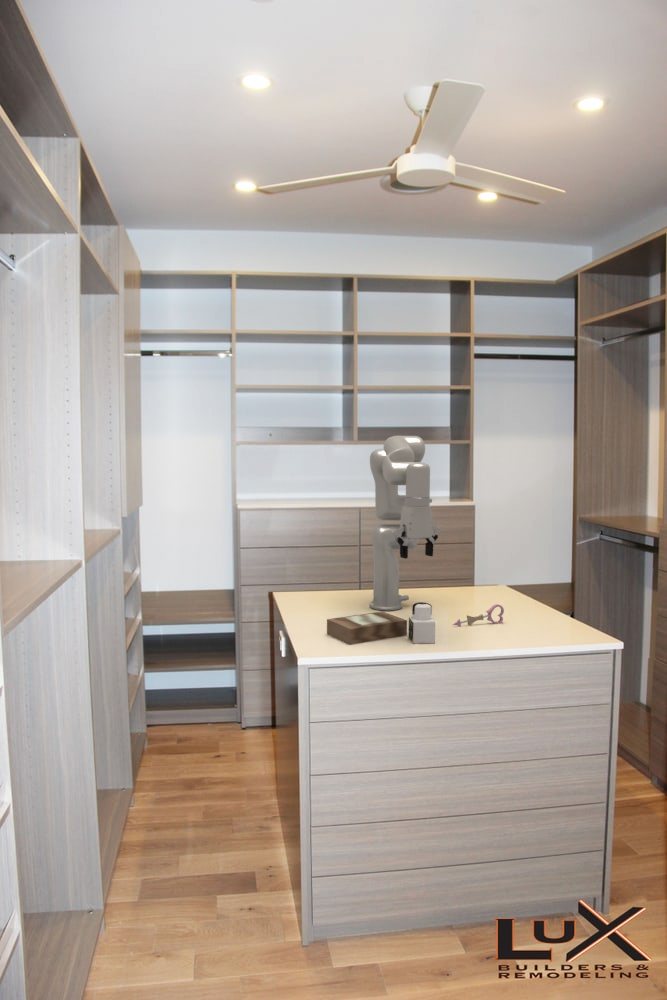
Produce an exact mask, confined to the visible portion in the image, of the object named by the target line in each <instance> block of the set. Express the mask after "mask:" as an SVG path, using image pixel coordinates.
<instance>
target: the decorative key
mask: <svg viewBox="0 0 667 1000" xmlns="http://www.w3.org/2000/svg"><path fill="white" fill-rule="evenodd" d="M498 607H499V608H500V613H499V614H497V616H498V617H499V620H498V621H495V620H493V617H492V613H493V612H494V610H495V609H496V608H498ZM485 612H486V614H485V615H483V614H479V615H477V616H471V615H468V614H466V620H462V621H461V618H458V619H457V621H455V623H453V624H451V625H452V626H458V627H462V625H461V624H465V623H467V625H468V626H469V627H470V626H472V625H473V624H474V623H476V622H477V621H484V619H485V618H486V621H488V622H492V624H495V625H498V624H501V623H503V621H504V617H503V615H504V612H505V609H504V606H502V605H500V604H497V603H496V604H494V605H492V606H491V607H489V609H488V610H485Z"/></svg>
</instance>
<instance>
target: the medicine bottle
mask: <svg viewBox="0 0 667 1000" xmlns="http://www.w3.org/2000/svg"><path fill="white" fill-rule="evenodd" d="M432 607H433V606H432V604H431V603H428V602H422V601H421V602H419V601H418V602H415V603H413V604H412V616H411V615H410V616H408V638H409V640H410V641H411V643H412V644H413V645H415V644H417V645H418V644H435V643H436V620H434V618H432V612H433V610H432V609H433V608H432Z"/></svg>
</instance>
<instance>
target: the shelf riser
mask: <svg viewBox="0 0 667 1000" xmlns="http://www.w3.org/2000/svg"><path fill="white" fill-rule="evenodd" d="M326 635H327V636H330V637H332V638H335V639H336V640H339V641H341V642H343V643H346V644H348V645H356V644H362V643H368V642H375V641H380V640H388V639H393V638H398V637H399V638H400V637H404V636H407V635H408V620H407V619H404V618H402V617H399V616H396V615H394V614H390V613H387V612H386V611H384V610H381V611H377V612H376V611H375V612H369V613H361V614H354V615H348V616H339V617H334V618H333V617H332V618H327V619H326Z"/></svg>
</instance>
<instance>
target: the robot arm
mask: <svg viewBox="0 0 667 1000" xmlns="http://www.w3.org/2000/svg"><path fill="white" fill-rule="evenodd" d="M425 453H426V445H425V441H424V440H423V438H421V436H419V435H393V436H390V437H388V438H387V439H386V440H385V441H384V443H383V448H378V449H375V450H373V451H372V452H371V453H370V455H369V466H370V470H371V471H370V472H371V474H372V477H373V479H374V487H375V488H374V489H375V490H374V492H375V493H374V494H375V501H374V502H375V505H374V506H375V515H376V517H377V519H379V520H380V521H400V523H381V524H378V525H376V526H374V528H372V531H371V541H372V548H373V601H371V602H369V604H368V607H369V608H370V609H372V610H376V611H384V612H386V611H389V612H390V611H397V610H401V609H403V607H404V606H403V601H409V599H410V597H409V595H408V594H407V595H402V594H399V593H400V592H399V590H400V589H399V588H400V585H399V583H400V561H399V558H398V557H397V555H396V554H395V553H394V552H393V551H394V550H399V556H400V558H402V559H405V560H406V559H408V557H409V555H408V554H409V550H413V549H415V548H417V546H418V543H419V540H422V539H424V540H425V541H426V542H425V544H424V545H425V547H424V548H425V552H424V555H425V556H428V557H433V556H434V545H435V543H436V541H437V540H438V538H439V535H440V532H441V528H439V527H438V526H437V527H436V526H435V525H434V521H433V520H434V519H433V511H432V508H431V506H430V504H431V503H432V502H433V499H432V498H430V496H431V466H430V465H429V464H427V463H425V462H423V461H422V460H423V459H424V457H425ZM399 486H405V494H399Z"/></svg>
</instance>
